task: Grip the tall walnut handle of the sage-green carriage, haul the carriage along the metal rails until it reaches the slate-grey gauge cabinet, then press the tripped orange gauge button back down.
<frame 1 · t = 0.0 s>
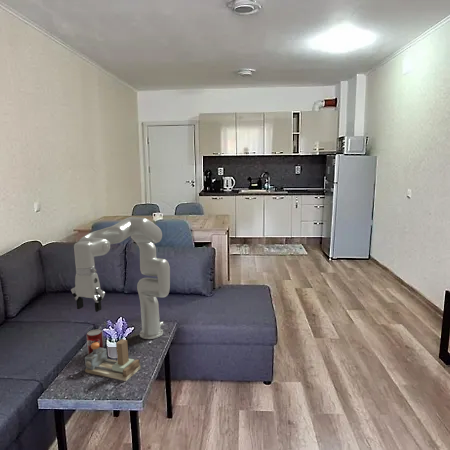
hand: (89, 309, 171), 31 cm above the table, tool pointing down, fingers open, 9 cm apart
soda can: (96, 355, 195), on the table
carriage: (122, 354, 177), point 9 cm above the table, slide at 0.0 cm
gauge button: (95, 348, 183), point 9 cm above the table, slide at 2.5 cm
rail bed: (113, 370, 181), on the table
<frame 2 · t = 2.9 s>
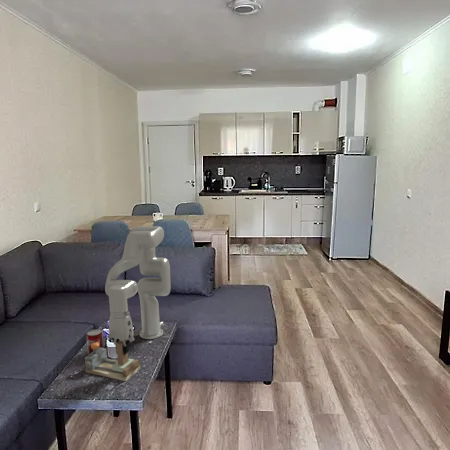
hand: (122, 352, 177), 10 cm above the table, tool pointing down, fingers closed on carriage, 3 cm apart
carriage: (122, 354, 177), point 9 cm above the table, slide at 0.0 cm, touching gripper
everything else where it was.
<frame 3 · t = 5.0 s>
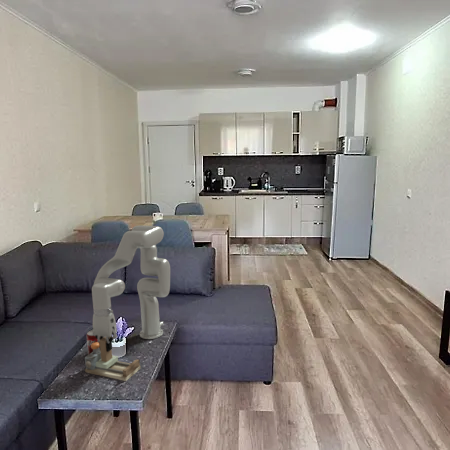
hand: (106, 349, 180), 10 cm above the table, tool pointing down, fingers closed on carriage, 3 cm apart
carriage: (106, 351, 180), point 9 cm above the table, slide at 9.0 cm, touching gripper
everything else where it was.
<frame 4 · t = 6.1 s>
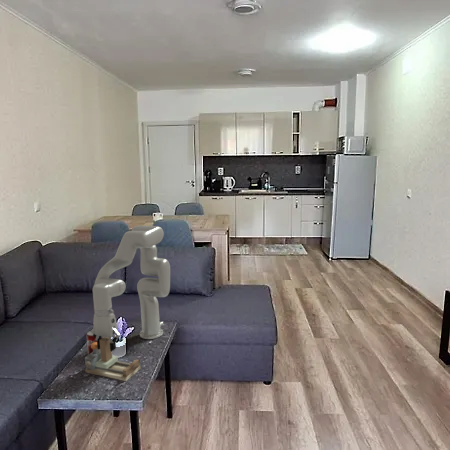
hand: (106, 348, 180), 10 cm above the table, tool pointing down, fingers open, 6 cm apart
carriage: (106, 351, 180), point 9 cm above the table, slide at 9.0 cm
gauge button: (95, 348, 183), point 9 cm above the table, slide at 2.6 cm, touching gripper
everything else where it was.
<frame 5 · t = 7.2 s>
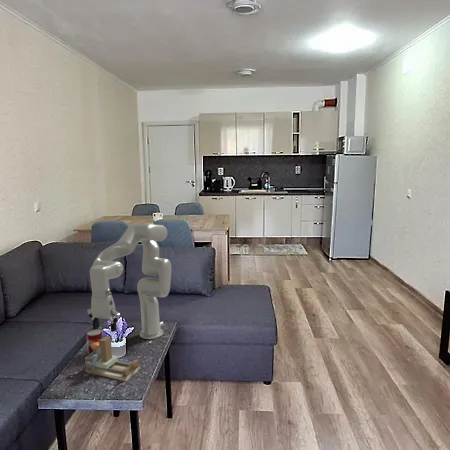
hand: (105, 329, 179), 19 cm above the table, tool pointing down, fingers open, 9 cm apart
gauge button: (95, 348, 183), point 9 cm above the table, slide at 2.6 cm
everything else where it was.
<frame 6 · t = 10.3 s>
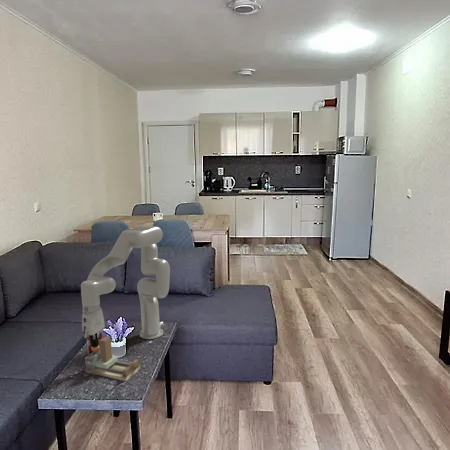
hand: (94, 346, 182), 10 cm above the table, tool pointing down, fingers closed
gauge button: (95, 350, 183), point 8 cm above the table, slide at 1.6 cm, touching gripper
everything else where it was.
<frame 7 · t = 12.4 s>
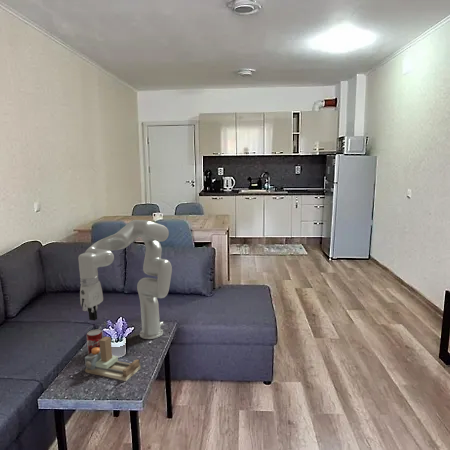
hand: (93, 319, 181), 23 cm above the table, tool pointing down, fingers closed
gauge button: (95, 353, 183), point 7 cm above the table, slide at 0.0 cm
everything else where it was.
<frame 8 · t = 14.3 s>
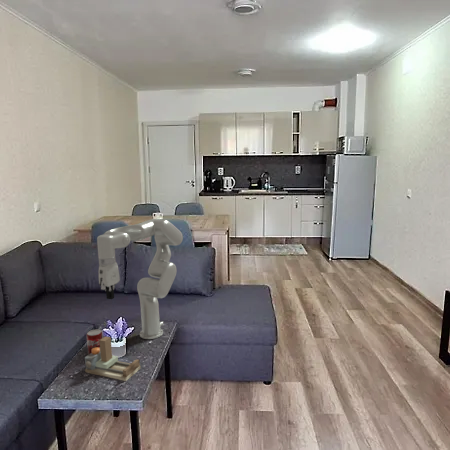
hand: (110, 298, 190), 29 cm above the table, tool pointing down, fingers closed
nothing on the table moved.
at the end: carriage slide at 9.0 cm; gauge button slide at 0.0 cm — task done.
